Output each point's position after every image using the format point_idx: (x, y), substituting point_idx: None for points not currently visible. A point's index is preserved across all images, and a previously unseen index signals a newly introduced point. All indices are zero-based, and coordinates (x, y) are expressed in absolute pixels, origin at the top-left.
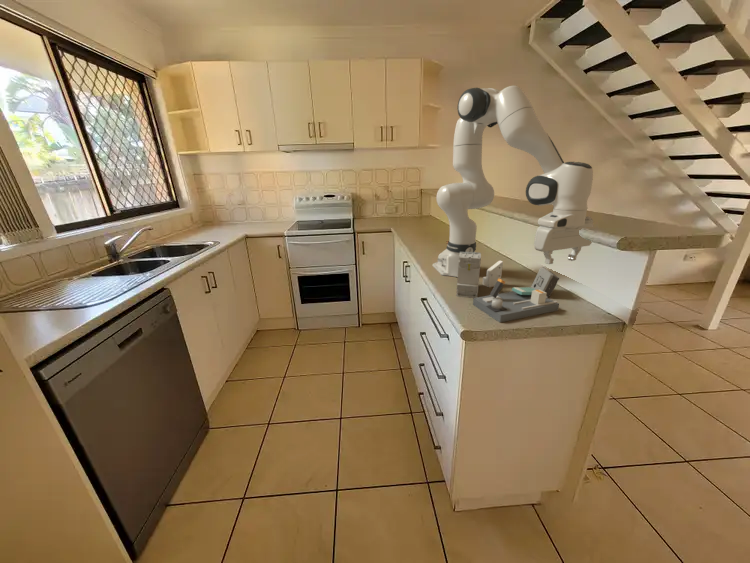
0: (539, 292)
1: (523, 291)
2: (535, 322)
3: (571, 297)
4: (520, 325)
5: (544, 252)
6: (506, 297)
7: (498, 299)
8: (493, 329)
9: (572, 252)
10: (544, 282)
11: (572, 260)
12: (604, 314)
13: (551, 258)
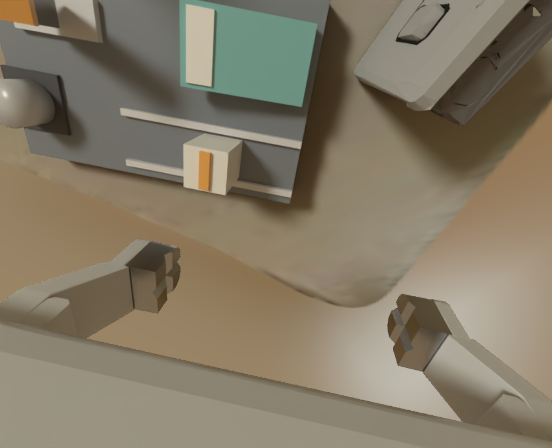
0: (197, 176)
1: (192, 83)
2: (158, 202)
3: (467, 151)
4: (105, 191)
5: (17, 306)
6: (139, 32)
7: (13, 99)
8: (18, 165)
9: (465, 362)
10: (397, 63)
11: (389, 326)
12: (382, 278)
13: (124, 313)
